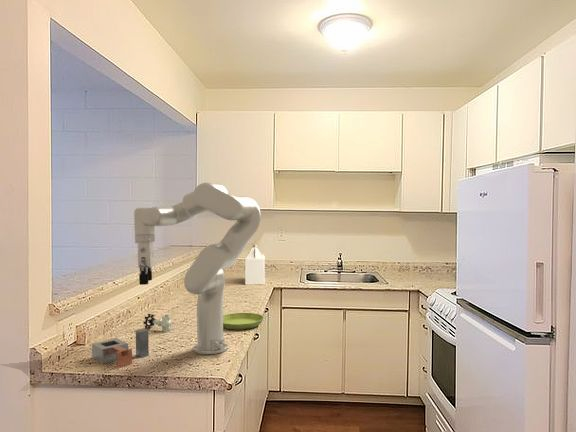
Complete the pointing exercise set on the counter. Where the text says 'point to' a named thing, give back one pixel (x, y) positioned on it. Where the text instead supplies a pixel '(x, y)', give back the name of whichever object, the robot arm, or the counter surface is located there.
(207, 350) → the robot arm
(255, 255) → the gable box
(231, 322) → the saucer
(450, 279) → the counter surface
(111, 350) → the square sleeve with handle
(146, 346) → the square peg
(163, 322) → the valve
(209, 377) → the counter surface
